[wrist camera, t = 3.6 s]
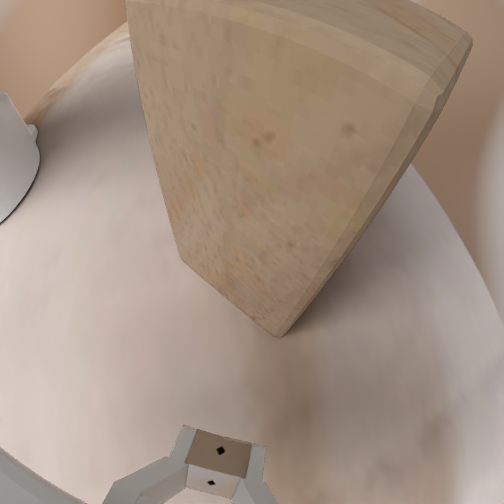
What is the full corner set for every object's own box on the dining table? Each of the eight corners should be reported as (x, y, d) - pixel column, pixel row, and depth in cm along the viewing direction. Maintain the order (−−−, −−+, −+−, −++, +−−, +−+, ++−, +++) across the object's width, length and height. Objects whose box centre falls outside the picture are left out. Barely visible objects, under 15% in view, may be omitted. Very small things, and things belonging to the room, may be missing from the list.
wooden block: (258, 184, 28) (290, -41, 10) (349, 249, 26) (476, 36, 8) (178, 259, 24) (117, -12, 6) (278, 342, 22) (449, 98, 4)
